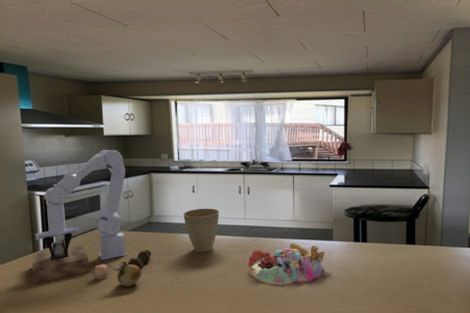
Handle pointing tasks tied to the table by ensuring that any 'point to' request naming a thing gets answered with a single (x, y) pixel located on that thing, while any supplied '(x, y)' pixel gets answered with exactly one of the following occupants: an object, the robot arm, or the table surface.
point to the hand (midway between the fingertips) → (59, 254)
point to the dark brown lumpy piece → (140, 259)
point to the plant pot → (202, 228)
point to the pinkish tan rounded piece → (101, 272)
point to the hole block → (59, 264)
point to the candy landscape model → (286, 265)
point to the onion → (127, 274)
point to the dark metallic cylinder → (59, 250)
